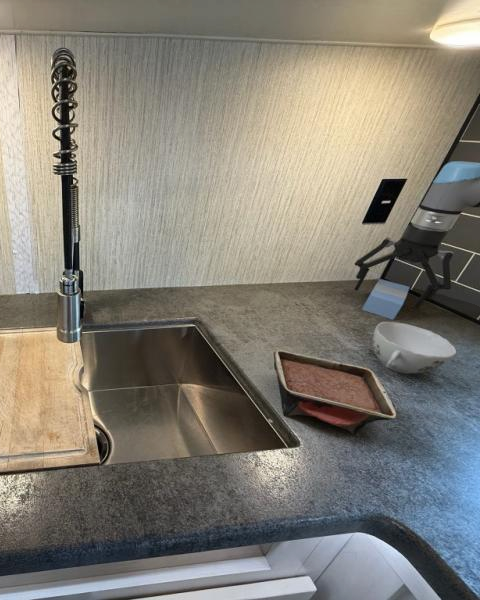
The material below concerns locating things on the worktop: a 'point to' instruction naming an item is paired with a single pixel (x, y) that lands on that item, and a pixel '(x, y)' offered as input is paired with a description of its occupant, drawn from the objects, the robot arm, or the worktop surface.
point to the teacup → (410, 348)
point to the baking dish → (331, 391)
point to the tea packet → (386, 299)
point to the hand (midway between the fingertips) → (384, 297)
